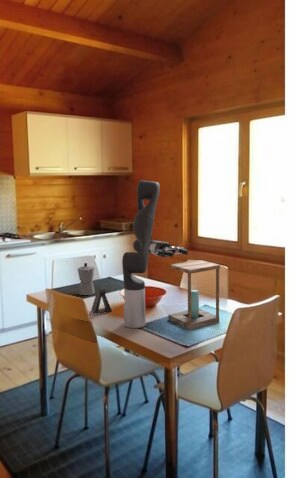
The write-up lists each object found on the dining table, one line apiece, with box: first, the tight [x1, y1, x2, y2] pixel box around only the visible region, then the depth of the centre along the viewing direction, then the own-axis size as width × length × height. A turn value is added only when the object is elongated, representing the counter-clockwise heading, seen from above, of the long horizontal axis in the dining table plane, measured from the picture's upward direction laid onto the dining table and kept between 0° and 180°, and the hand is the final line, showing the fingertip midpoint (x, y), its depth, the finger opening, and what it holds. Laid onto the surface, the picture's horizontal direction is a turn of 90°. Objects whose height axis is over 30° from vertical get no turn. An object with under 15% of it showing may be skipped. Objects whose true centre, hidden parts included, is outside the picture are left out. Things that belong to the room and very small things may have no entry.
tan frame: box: [167, 259, 221, 331], centre depth 198 cm, size 16×17×27 cm
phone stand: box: [90, 286, 113, 314], centre depth 216 cm, size 9×6×12 cm, turn 111°
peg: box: [191, 289, 200, 319], centre depth 199 cm, size 5×5×14 cm
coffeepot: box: [77, 262, 96, 296], centre depth 248 cm, size 15×9×18 cm, turn 12°
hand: (179, 253), depth 204 cm, fingers open, 8 cm apart
